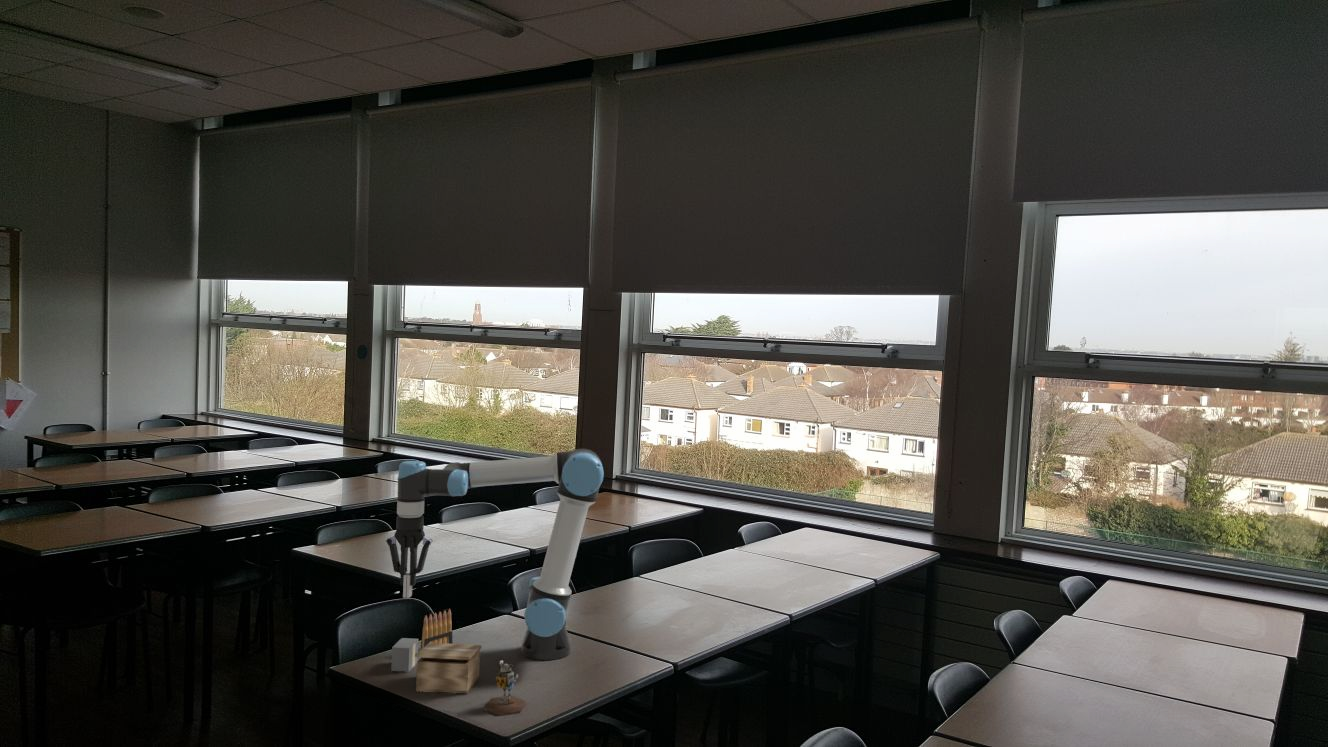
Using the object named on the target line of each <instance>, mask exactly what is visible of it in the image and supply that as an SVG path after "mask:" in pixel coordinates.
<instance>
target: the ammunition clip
mask: <svg viewBox="0 0 1328 747" xmlns="http://www.w3.org/2000/svg"><path fill="white" fill-rule="evenodd" d="M452 627H453V626H452V611H451V608H449V609H448V611H446V610H445V609H444V610H443V612H442V611H439V612H438V614H437V612H434V614H433V616H432V614H431V613H429V617H428V615H424V618H423V627H422V635H421V636H422V637H421V641H420V650H421V649H422V648H423V647H425V646H426V645H427V644H429V643H446V644H453V630H452Z"/></svg>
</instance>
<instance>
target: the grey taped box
mask: <svg viewBox="0 0 1328 747" xmlns="http://www.w3.org/2000/svg"><path fill="white" fill-rule="evenodd" d="M418 651H419V638H408V637H401V638H400V639H399V640H398V641H397V642H396V643H395V644H394V645H393V646H392V648H391V665H390V666H391V668H390V669H391V670H390V671H391V672H392V671H405V672H404V673H410V671H411V670H412V669H413V668H415V666H417V661H418V660H419V657H415V654H416V653H417V652H418Z"/></svg>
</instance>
